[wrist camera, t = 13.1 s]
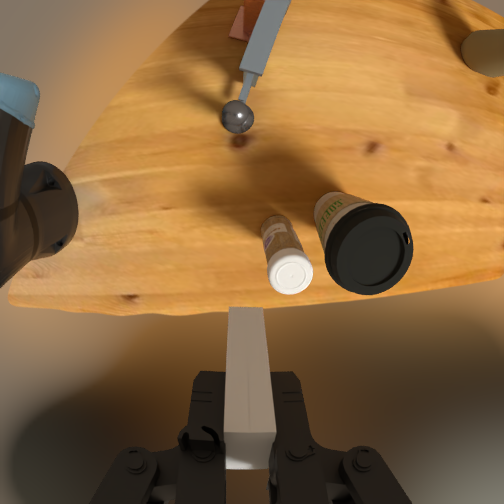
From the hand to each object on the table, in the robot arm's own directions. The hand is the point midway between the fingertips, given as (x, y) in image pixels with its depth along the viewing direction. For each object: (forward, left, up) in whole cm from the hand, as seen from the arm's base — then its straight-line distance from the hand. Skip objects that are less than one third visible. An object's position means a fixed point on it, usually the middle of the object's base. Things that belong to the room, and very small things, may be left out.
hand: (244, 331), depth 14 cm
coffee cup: (+13, -2, -29) cm, 31 cm away
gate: (+1, +19, -28) cm, 34 cm away
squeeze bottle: (+36, +28, -29) cm, 54 cm away
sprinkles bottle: (+5, -5, -29) cm, 29 cm away
